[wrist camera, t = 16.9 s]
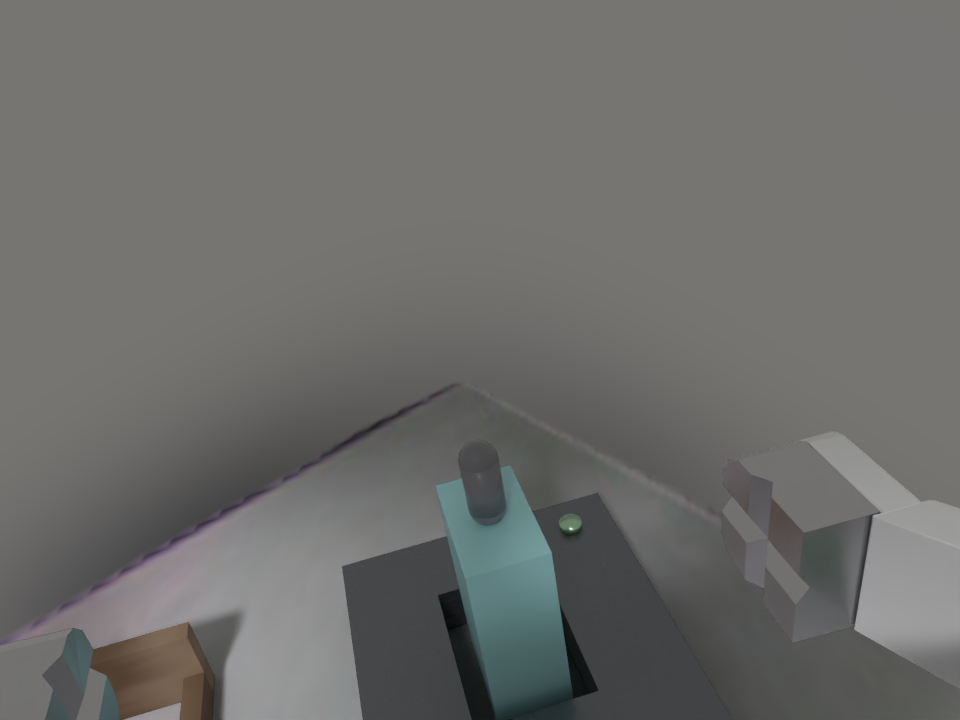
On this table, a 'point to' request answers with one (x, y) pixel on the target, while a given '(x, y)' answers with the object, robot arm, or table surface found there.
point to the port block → (585, 618)
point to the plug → (505, 585)
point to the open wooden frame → (159, 673)
